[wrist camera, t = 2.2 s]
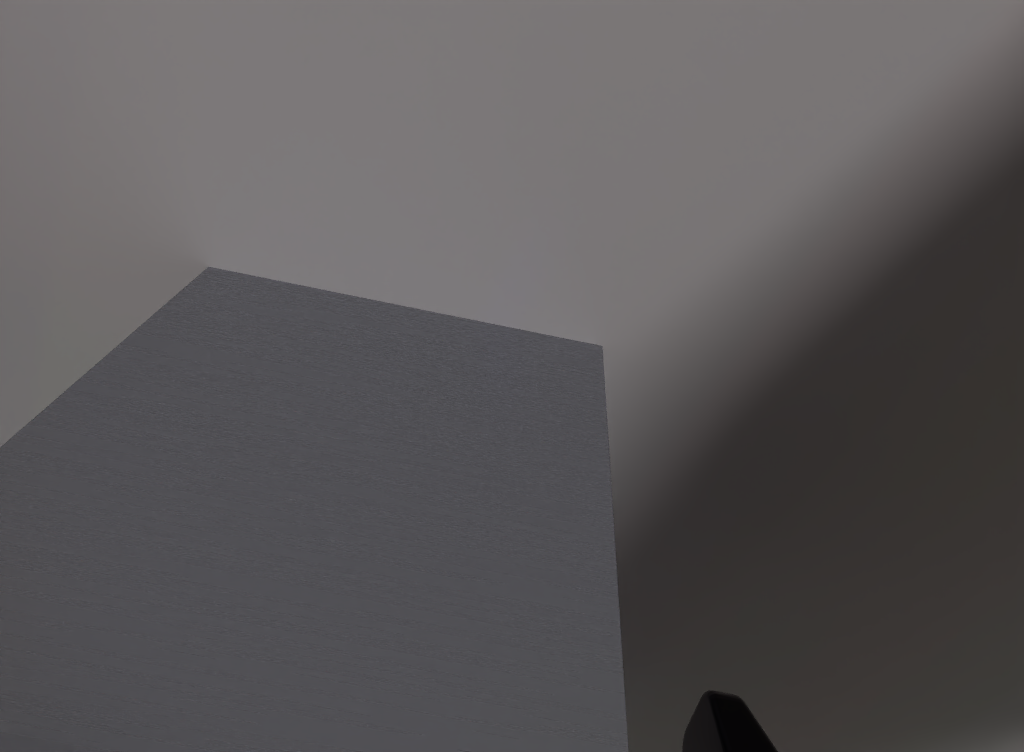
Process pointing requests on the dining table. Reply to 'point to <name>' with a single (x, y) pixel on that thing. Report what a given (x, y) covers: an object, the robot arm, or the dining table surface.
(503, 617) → the block with copper knob
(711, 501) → the dining table surface
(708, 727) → the robot arm
